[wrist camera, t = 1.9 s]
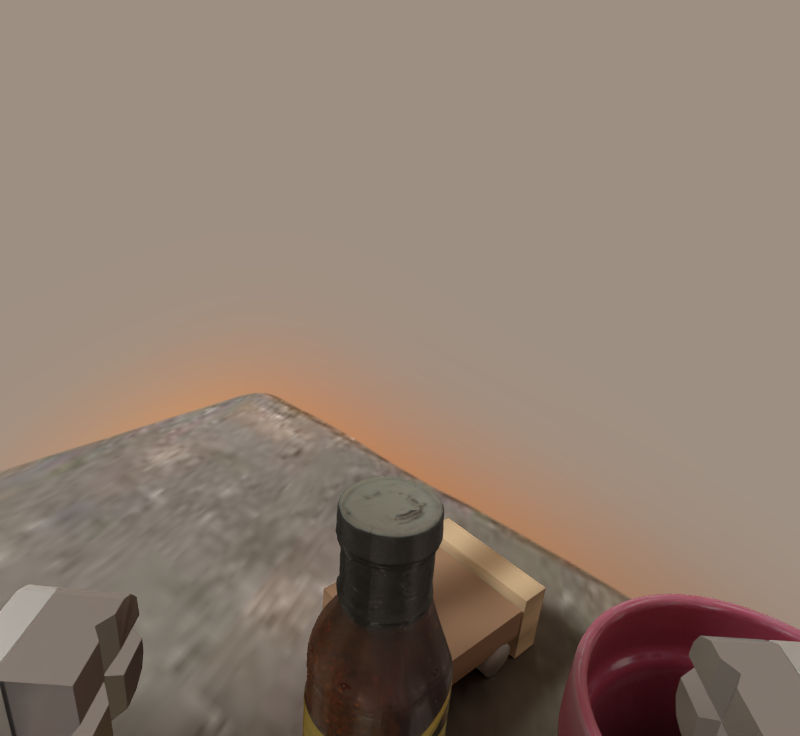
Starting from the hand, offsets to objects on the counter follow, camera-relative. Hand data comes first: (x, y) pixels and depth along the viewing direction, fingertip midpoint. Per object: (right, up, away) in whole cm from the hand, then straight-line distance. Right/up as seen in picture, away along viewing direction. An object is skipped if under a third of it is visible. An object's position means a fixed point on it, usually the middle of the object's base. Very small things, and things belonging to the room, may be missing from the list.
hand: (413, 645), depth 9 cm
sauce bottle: (-2, -19, +22) cm, 29 cm away
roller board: (+2, -15, +33) cm, 36 cm away
